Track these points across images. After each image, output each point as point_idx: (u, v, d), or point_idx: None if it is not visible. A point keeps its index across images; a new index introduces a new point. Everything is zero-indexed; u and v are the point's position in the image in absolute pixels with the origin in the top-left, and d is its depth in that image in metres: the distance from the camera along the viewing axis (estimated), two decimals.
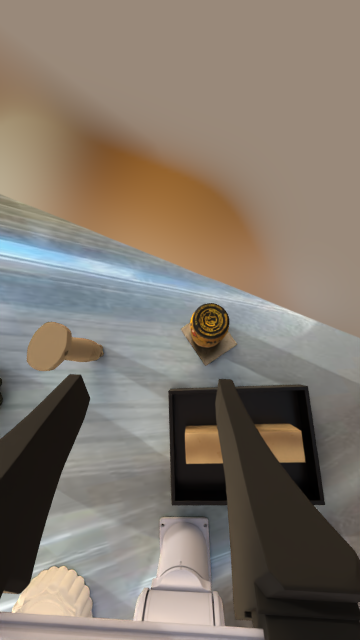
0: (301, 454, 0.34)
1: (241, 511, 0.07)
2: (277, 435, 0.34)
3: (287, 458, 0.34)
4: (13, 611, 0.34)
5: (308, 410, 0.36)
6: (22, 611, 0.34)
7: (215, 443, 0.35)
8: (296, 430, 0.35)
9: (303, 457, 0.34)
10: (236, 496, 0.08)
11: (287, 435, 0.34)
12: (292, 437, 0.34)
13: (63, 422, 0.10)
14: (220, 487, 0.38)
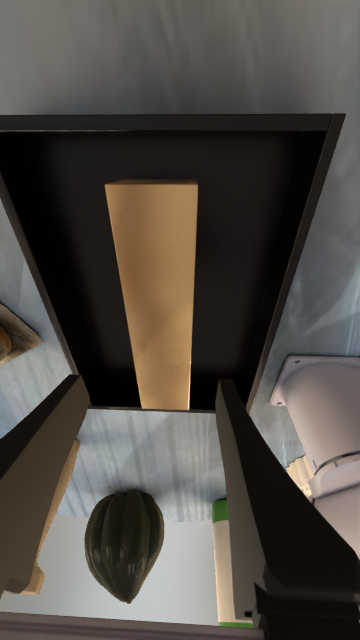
0: (175, 196, 0.11)
1: (241, 511, 0.07)
2: (127, 260, 0.13)
3: (185, 241, 0.12)
4: None
5: (49, 127, 0.10)
6: None
7: (155, 375, 0.18)
8: None
9: (183, 189, 0.10)
10: (236, 496, 0.08)
11: (124, 232, 0.12)
12: (128, 217, 0.11)
13: (62, 422, 0.10)
14: (247, 336, 0.21)
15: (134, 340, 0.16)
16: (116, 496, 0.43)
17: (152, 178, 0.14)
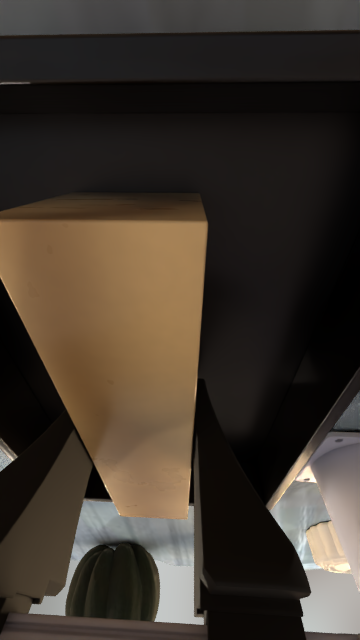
0: (152, 247, 0.04)
1: (197, 509, 0.07)
2: (61, 360, 0.06)
3: (177, 333, 0.05)
4: None
5: None
6: None
7: (136, 490, 0.12)
8: None
9: (171, 233, 0.04)
10: (196, 494, 0.08)
11: (43, 316, 0.05)
12: (46, 290, 0.05)
13: None
14: (271, 412, 0.15)
15: (96, 457, 0.10)
16: (103, 553, 0.37)
17: None
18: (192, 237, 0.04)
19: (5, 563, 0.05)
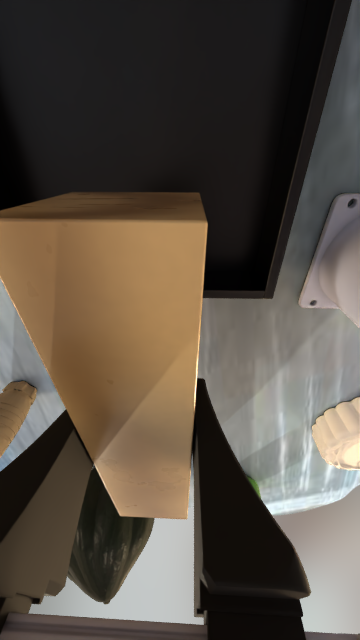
0: (151, 247, 0.04)
1: (197, 509, 0.07)
2: (61, 360, 0.06)
3: (177, 333, 0.05)
4: (340, 467, 0.28)
5: None
6: (344, 463, 0.27)
7: (135, 490, 0.12)
8: None
9: (171, 232, 0.04)
10: (196, 494, 0.08)
11: (43, 316, 0.05)
12: (45, 290, 0.05)
13: None
14: (271, 144, 0.12)
15: (96, 457, 0.10)
16: (94, 469, 0.35)
17: (119, 192, 0.08)
18: (192, 236, 0.04)
19: (5, 563, 0.05)
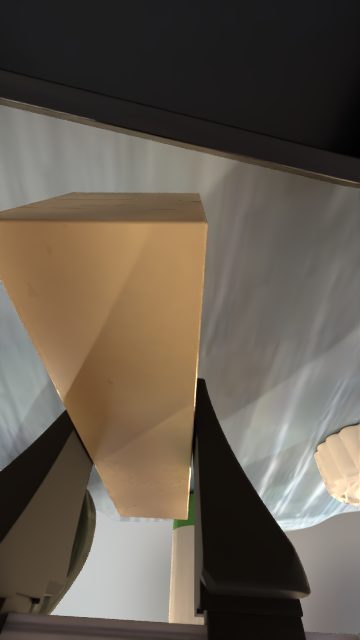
0: (151, 248, 0.04)
1: (197, 509, 0.07)
2: (61, 361, 0.06)
3: (177, 333, 0.05)
4: (343, 501, 0.22)
5: None
6: (351, 496, 0.21)
7: (135, 490, 0.12)
8: None
9: (171, 233, 0.04)
10: (196, 494, 0.08)
11: (43, 317, 0.05)
12: (46, 290, 0.05)
13: None
14: None
15: (96, 457, 0.10)
16: None
17: None
18: (191, 237, 0.04)
19: (5, 563, 0.05)
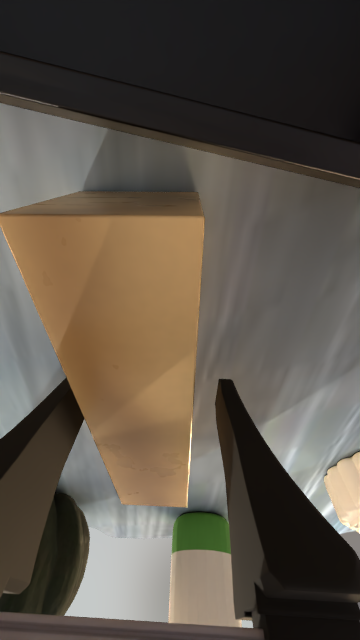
0: (155, 240, 0.05)
1: (241, 511, 0.07)
2: (71, 346, 0.07)
3: (177, 319, 0.06)
4: (355, 529, 0.20)
5: None
6: None
7: (137, 476, 0.12)
8: None
9: (172, 226, 0.05)
10: (236, 496, 0.08)
11: (56, 304, 0.06)
12: (59, 279, 0.05)
13: (62, 422, 0.10)
14: None
15: (101, 443, 0.10)
16: None
17: None
18: (191, 230, 0.05)
19: None
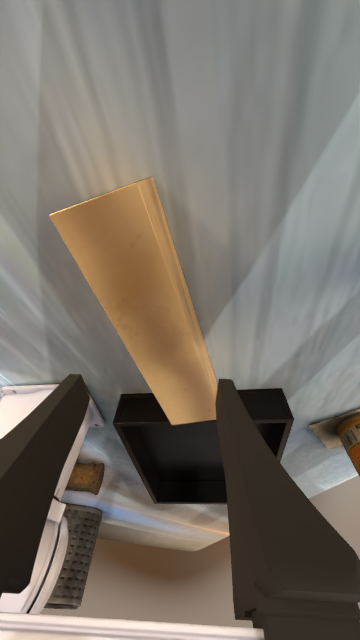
0: (181, 421, 0.19)
1: (241, 511, 0.07)
2: (203, 394, 0.17)
3: (168, 408, 0.18)
4: None
5: None
6: None
7: (144, 290, 0.12)
8: None
9: (178, 423, 0.20)
10: (236, 496, 0.08)
11: (207, 405, 0.18)
12: (206, 410, 0.18)
13: (62, 422, 0.10)
14: (144, 434, 0.29)
15: (186, 335, 0.14)
16: None
17: None
18: (173, 423, 0.20)
19: None
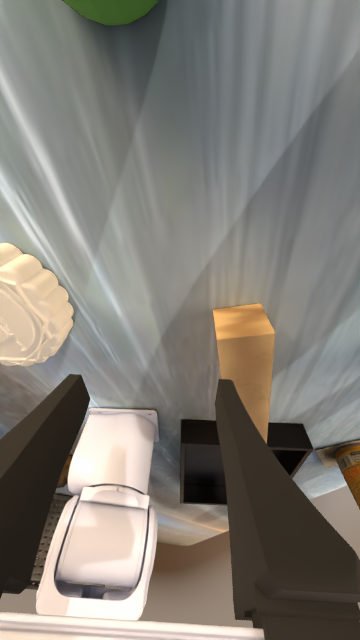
0: None
1: (241, 511, 0.07)
2: (262, 432, 0.25)
3: None
4: None
5: None
6: None
7: (253, 376, 0.20)
8: None
9: None
10: (236, 496, 0.08)
11: None
12: None
13: (62, 422, 0.10)
14: (187, 449, 0.36)
15: (267, 400, 0.22)
16: None
17: None
18: None
19: None
